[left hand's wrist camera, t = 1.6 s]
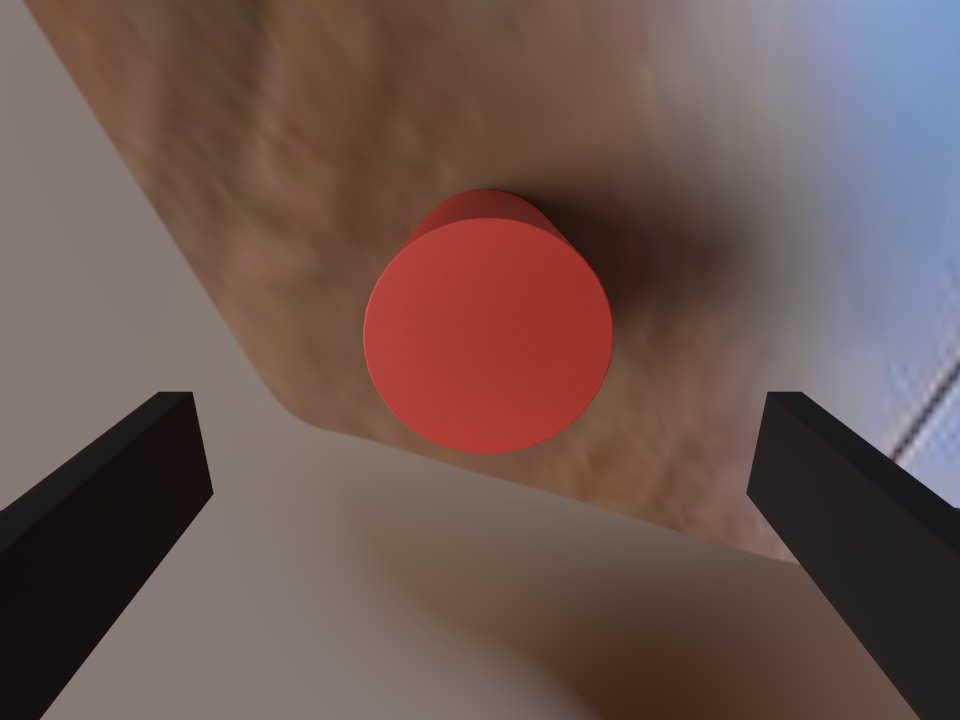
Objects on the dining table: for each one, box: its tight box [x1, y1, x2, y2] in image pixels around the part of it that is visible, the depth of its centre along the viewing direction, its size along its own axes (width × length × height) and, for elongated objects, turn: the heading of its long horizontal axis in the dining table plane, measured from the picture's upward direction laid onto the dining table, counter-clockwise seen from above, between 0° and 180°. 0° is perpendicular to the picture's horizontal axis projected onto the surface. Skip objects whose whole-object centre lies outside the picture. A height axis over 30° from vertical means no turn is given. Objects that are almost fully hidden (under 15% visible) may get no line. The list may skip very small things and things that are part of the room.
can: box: [363, 190, 613, 453], centre depth 24 cm, size 9×9×12 cm
